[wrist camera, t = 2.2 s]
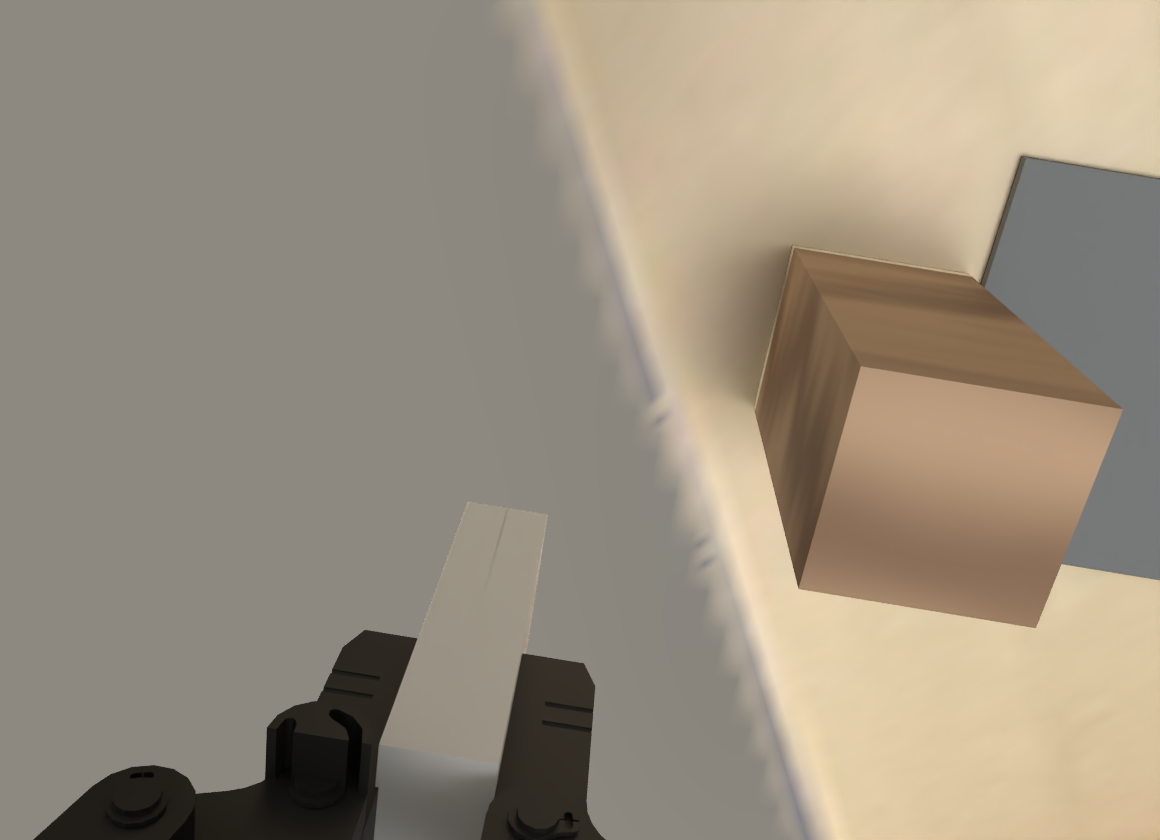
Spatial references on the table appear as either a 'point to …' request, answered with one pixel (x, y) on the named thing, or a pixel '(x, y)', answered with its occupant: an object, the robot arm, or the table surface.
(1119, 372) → the mat
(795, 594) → the table surface
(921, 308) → the walnut block
